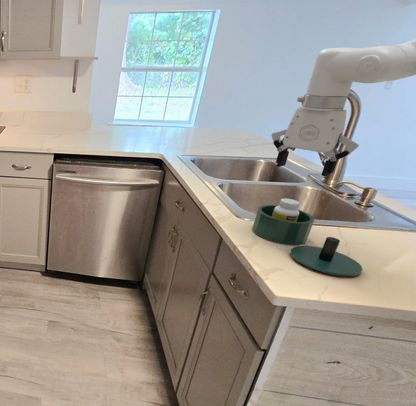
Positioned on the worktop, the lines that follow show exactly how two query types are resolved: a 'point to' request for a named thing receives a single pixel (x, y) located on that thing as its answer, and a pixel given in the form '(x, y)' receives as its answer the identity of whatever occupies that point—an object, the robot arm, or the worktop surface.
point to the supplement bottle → (287, 210)
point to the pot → (282, 227)
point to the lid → (326, 259)
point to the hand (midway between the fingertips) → (302, 170)
